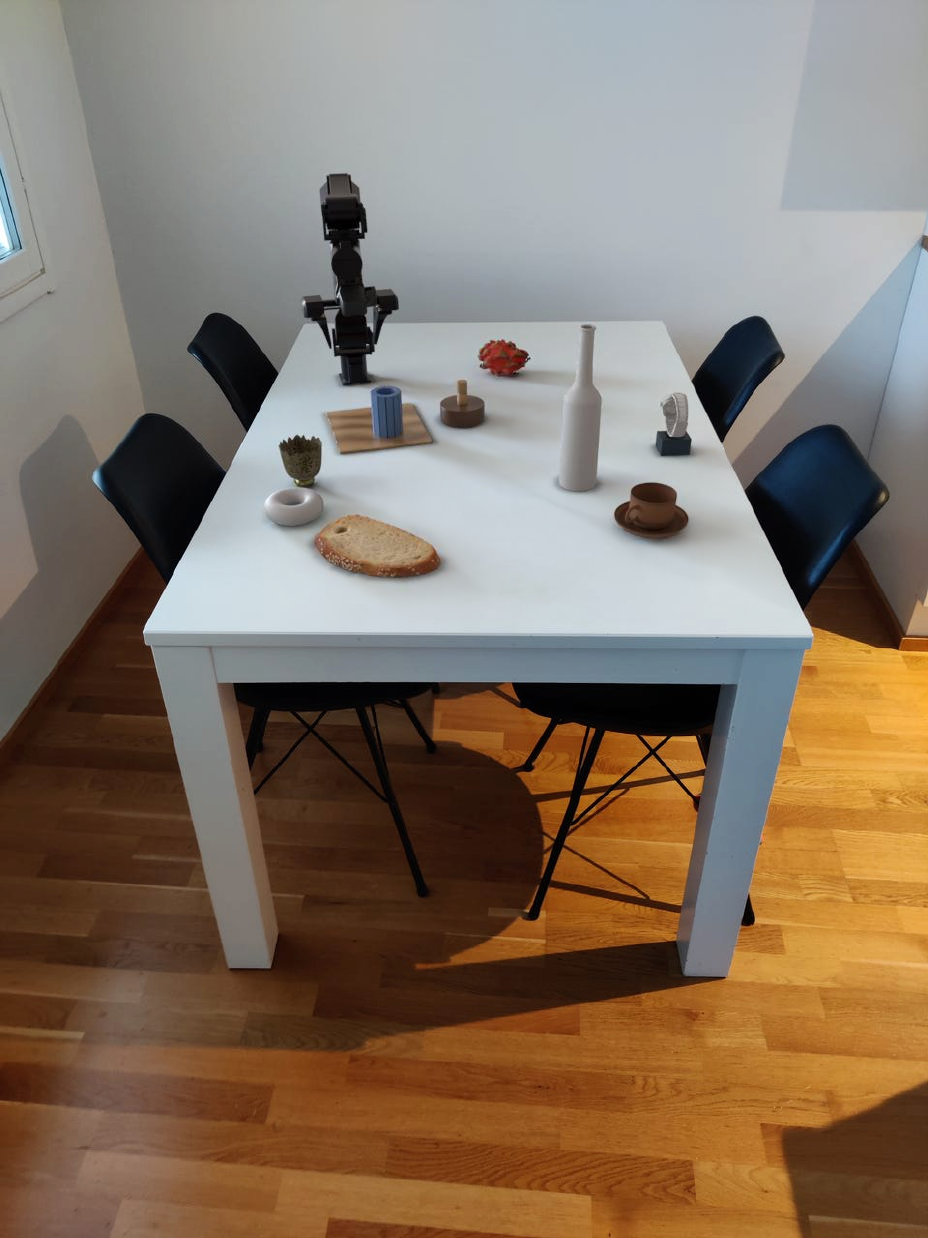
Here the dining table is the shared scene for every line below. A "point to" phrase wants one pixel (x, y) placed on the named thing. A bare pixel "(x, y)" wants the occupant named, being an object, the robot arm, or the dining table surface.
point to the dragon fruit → (502, 357)
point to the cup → (302, 459)
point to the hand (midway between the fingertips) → (353, 346)
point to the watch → (674, 426)
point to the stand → (462, 409)
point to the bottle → (581, 422)
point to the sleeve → (387, 411)
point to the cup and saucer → (651, 511)
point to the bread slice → (375, 548)
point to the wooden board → (358, 430)
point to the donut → (293, 506)
